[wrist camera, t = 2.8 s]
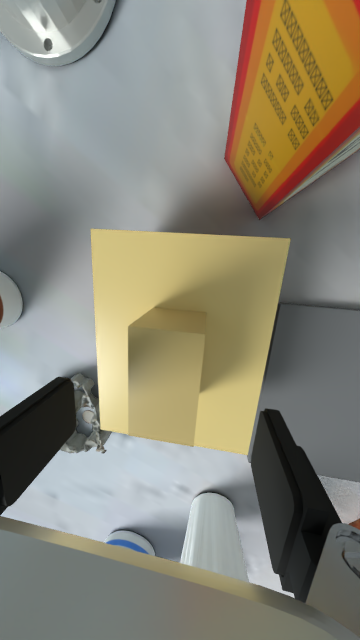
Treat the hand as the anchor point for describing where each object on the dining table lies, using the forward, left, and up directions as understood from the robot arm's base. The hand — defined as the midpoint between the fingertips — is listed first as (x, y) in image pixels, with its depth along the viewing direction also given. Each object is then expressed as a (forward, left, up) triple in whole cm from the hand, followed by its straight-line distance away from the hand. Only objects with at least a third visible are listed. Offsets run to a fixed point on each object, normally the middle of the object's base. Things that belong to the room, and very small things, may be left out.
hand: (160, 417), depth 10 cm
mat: (+6, +18, -15) cm, 24 cm away
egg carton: (+14, -14, -15) cm, 25 cm away
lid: (-1, 0, -9) cm, 10 cm away
